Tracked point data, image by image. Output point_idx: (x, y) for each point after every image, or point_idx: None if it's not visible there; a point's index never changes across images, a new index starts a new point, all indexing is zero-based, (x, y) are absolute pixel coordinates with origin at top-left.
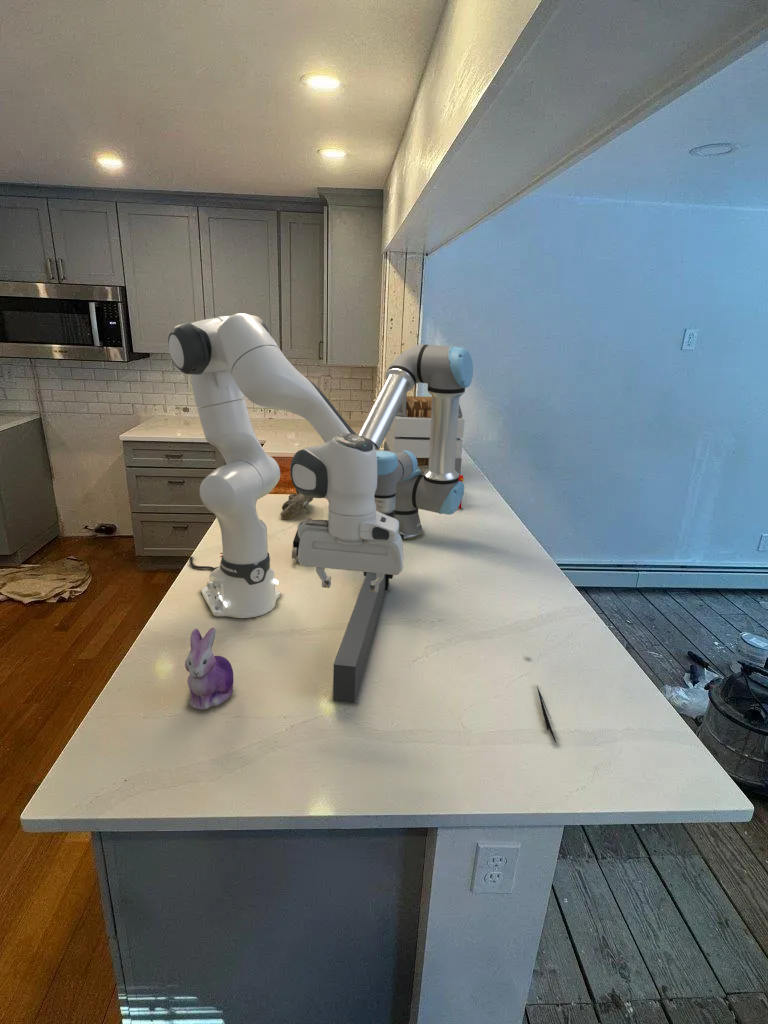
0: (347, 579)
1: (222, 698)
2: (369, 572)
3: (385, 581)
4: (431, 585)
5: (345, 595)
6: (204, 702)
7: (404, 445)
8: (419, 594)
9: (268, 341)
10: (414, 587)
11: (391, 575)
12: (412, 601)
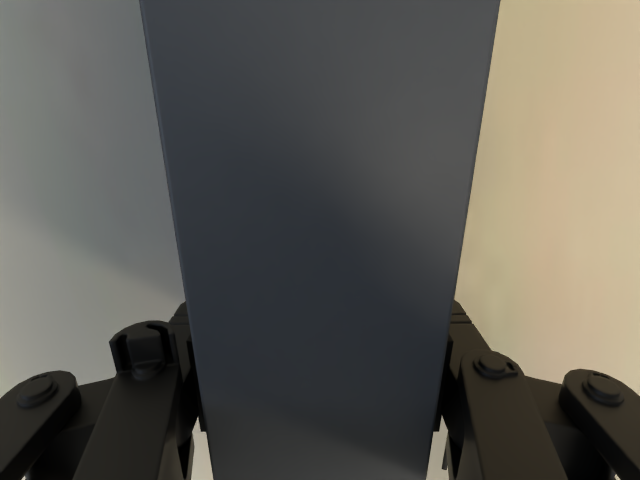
0: (526, 344)
1: None
2: (445, 8)
3: None
4: (5, 368)
5: (546, 123)
6: None
7: None
8: (31, 247)
9: None
10: (94, 327)
11: (186, 315)
12: (39, 135)
